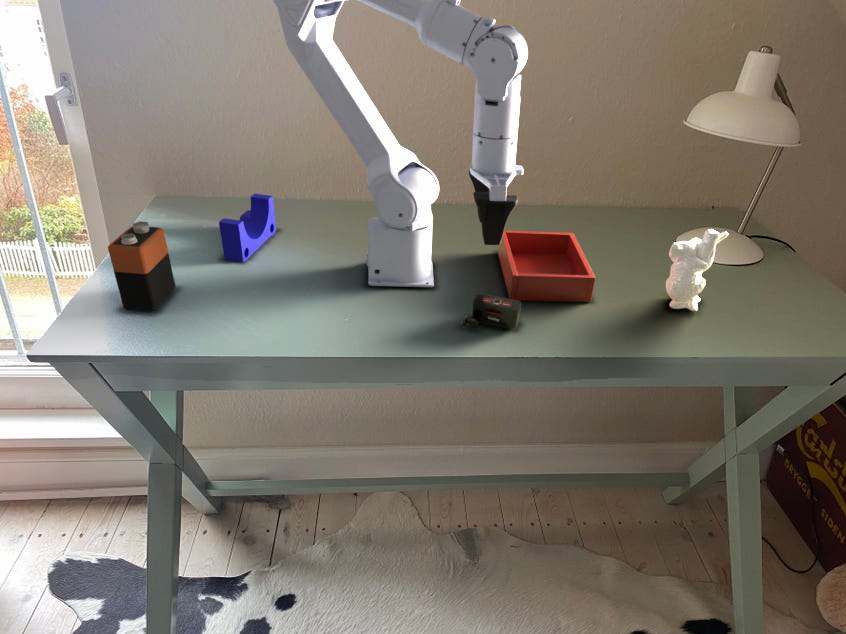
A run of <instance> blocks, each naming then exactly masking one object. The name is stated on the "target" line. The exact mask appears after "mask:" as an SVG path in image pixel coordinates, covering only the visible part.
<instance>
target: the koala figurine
mask: <svg viewBox="0 0 846 634" xmlns="http://www.w3.org/2000/svg"><path fill="white" fill-rule="evenodd" d="M729 235H730V234H729V233H728V232H727V231H722V232H721V233H720V232H718V231H716V230H714V229H712V228H711V229H710V228H709V229H706V230H705V231H704V234H703V236H702V238H701V239H700V238H698V237H694V238H691V239H690V240H688V241H687V240H680V241H677V242H672V243H671V247H670V248H669V251H668V256H669V257H670V260H671V261H672V262H673V263H672V264H671V266H670V271H669V277H668V278H667V279H666V280H665V290H666V293H667V295H668V297H669V298H670V299H671V301H670V302H669V307H670V308H671V309H674V310H680V309H688V310H689V311H692V312H697V311H698V309H699V307H698V303H700V302H701V298H700V297H699V296H698V295H699V294H700V293H702V292H703V290H704V289H705V286H706V279H705V278H703V277H702V274H703V273H704V272H706V271H707V270H709V268H710V267H711V266H712V264H713V261H714V258H715V253H716V246H717V244H719V243H720V242H721V241H723V240H725V239H726V238H727V237H728V236H729Z"/></svg>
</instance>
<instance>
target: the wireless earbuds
mask: <svg viewBox="0 0 846 634" xmlns="http://www.w3.org/2000/svg"><path fill="white" fill-rule="evenodd" d="M521 309H522V302H521V300H513V299H510V298H509V297H503V296H499V295H498V296H497V295H493V294H488V293H482V292H477V293H476V294H475V295H474V297H473V299H472V308H471V315H469V314H467V315H465V318H464V319H462V321H461V323H460V324H461V326H469V327H472V328H475V327H478V325H479V323H480V324H485V325H489V326H495V327H500V328H504V329H508V330H515V329H516V328H517V326H518V325H519V322H520V316H521Z"/></svg>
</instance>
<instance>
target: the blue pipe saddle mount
mask: <svg viewBox="0 0 846 634" xmlns="http://www.w3.org/2000/svg"><path fill="white" fill-rule="evenodd" d="M276 225H277V224H276V217H275V206H274V197H273V195H269V194H261V193H253V194H252V195H251V196H250V209H247V210H246V211H245V212H243V213H242V214H241V215H240V217H239V219H232V218H226V217H224V218H222V219H220V220H219V221H218V226H219V233H220V239H221V246H222V252H223V259H224V261H232V262H239V263H245V261H247V260H248V259H249V258H250V257H251V256H252V255H253V254H254V253H255V252H256V251H257V250H258V249H259V248H260V247H261V246H263V244H265V243H266V242H267V241H268V239H270V238H271V236H272V235H274V234H275V233H276V232H277V226H276Z"/></svg>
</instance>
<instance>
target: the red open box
mask: <svg viewBox="0 0 846 634" xmlns="http://www.w3.org/2000/svg"><path fill="white" fill-rule="evenodd" d="M497 247H498V249H497V255H498V260H499V263H500V266H501V271H502V274H503V279H504V282H505V286H506V290H507V293H508V299H513V300H518V301H535V302H536V301H537V302H538V301H539V302H540V301H541V302H542V301H543V302H579V303H580V302H581V303H587V302H588V303H591V302H592V297H593V293H594V287H595V283H596V276H595V274H594V272H593V270H592V268H591V266H590V264H589V262H588V260H587V258H586V256H585V254H584V252H583V250H582V247H581V246H580V244H579V242H578V240H577V238H576V236H575V234H574V232H553V231H552V232H551V231H529V230H528V231H527V230H526V231H525V230H504V233H503V237H502V240H501V242H500V245H497Z"/></svg>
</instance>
